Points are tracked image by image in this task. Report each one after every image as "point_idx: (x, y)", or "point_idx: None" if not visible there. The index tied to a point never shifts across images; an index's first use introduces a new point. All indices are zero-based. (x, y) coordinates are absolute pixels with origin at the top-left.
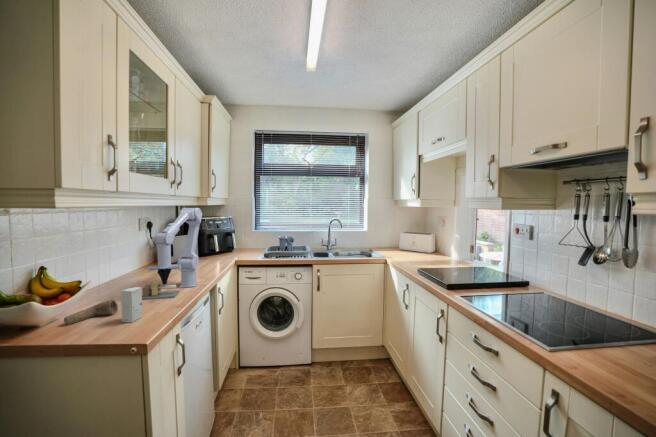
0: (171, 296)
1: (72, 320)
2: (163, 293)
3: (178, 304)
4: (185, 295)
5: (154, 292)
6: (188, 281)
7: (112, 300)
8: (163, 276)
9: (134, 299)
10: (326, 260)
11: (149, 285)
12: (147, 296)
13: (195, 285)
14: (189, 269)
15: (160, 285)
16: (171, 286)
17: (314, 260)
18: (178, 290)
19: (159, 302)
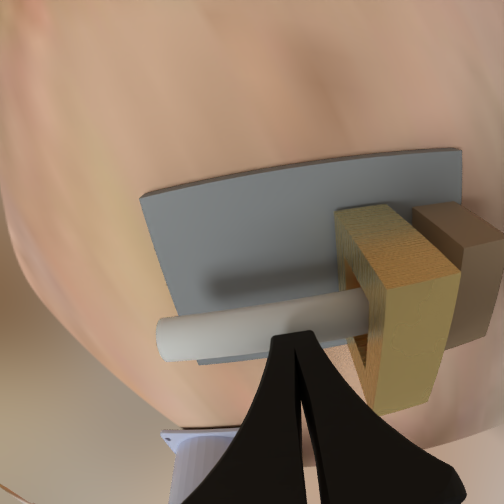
0: (168, 191)
1: None
2: (305, 293)
3: (32, 17)
4: (88, 259)
5: (373, 219)
6: (195, 463)
7: None
8: (317, 438)
9: None
10: (4, 489)
11: (461, 326)
12: (420, 205)
13: (167, 442)
14: None
15: (357, 359)
16: (200, 325)
17: (24, 500)
18: (205, 363)
19: (224, 38)
